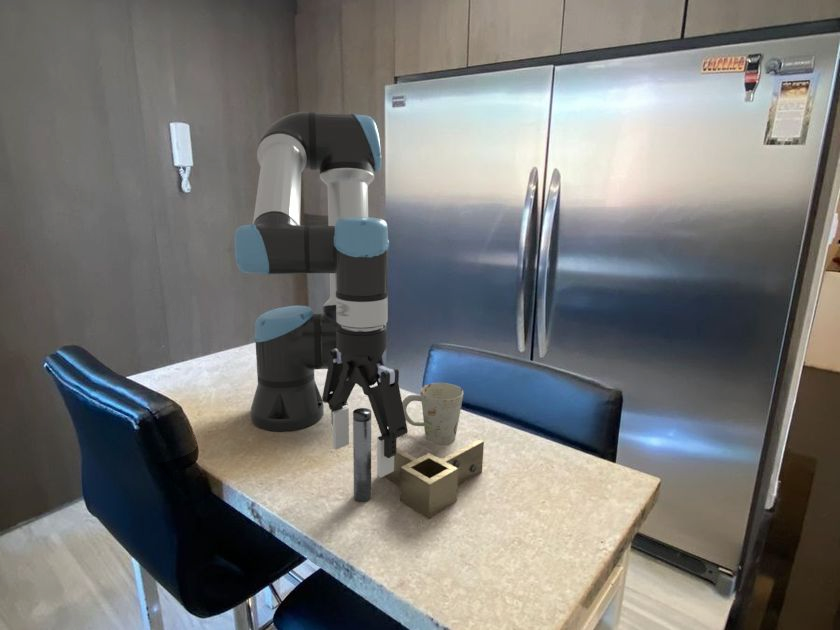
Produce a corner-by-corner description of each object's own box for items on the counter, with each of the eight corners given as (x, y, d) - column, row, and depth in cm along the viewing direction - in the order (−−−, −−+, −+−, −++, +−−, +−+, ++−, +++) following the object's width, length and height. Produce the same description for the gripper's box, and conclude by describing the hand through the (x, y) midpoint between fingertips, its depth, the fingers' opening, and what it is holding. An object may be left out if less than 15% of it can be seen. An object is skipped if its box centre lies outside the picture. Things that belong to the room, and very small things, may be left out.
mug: (458, 449, 99) (460, 401, 97) (394, 441, 101) (395, 394, 99) (463, 429, 107) (465, 384, 104) (404, 423, 109) (405, 378, 107)
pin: (350, 497, 84) (349, 411, 80) (363, 490, 86) (363, 406, 82) (361, 504, 82) (360, 417, 78) (374, 497, 84) (375, 412, 80)
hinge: (368, 480, 88) (368, 448, 87) (434, 447, 100) (435, 418, 98) (428, 519, 79) (429, 484, 77) (494, 478, 90) (496, 446, 88)
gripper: (297, 313, 81) (301, 440, 87) (395, 348, 66) (393, 500, 71) (336, 306, 87) (338, 426, 92) (436, 337, 71) (431, 480, 77)
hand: (362, 459), depth 82 cm, fingers open, 10 cm apart
